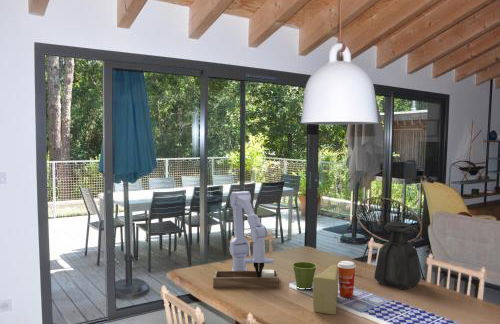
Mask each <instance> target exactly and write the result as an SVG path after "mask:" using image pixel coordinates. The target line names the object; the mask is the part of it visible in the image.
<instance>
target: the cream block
mask: <svg viewBox="0 0 500 324" xmlns="http://www.w3.org/2000/svg"><path fill="white" fill-rule="evenodd" d="M274 271H275V270H274V269H262V278H274Z"/></svg>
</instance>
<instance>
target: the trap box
mask: <svg viewBox="0 0 500 324" xmlns="http://www.w3.org/2000/svg"><path fill="white" fill-rule="evenodd" d="M212 278H213V279H212V281H213V282H212V283H213V284H212V285H213V288H280V274H279V270H274V278H262V272H261V276H260V278H258V277H257V273H256V270H247V271H232V270H215V271H214V275H213V277H212Z"/></svg>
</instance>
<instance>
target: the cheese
mask: <svg viewBox="0 0 500 324" xmlns="http://www.w3.org/2000/svg"><path fill="white" fill-rule="evenodd" d="M337 265H338V264H330V266H328V267H327V268H325V270H323V271H322V272H320V273H318V274H316V275H314V278H313V284H312V303H313V304H312V305H313V306H312V307H313V308H312V309H313V312H316V313H320V314H327V315H333V316H334V315H336V313H337V301H338V295H339V275H338V266H337Z"/></svg>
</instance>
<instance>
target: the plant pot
mask: <svg viewBox="0 0 500 324" xmlns="http://www.w3.org/2000/svg"><path fill="white" fill-rule="evenodd" d="M292 267H293V271H294V277H295V284H296V288H297V287H299V288H305V289H306V288H311V287H312V288H313V278H314V277H315V272H316V270H317V267H318V265H317V264H316V263H314V262H309V261H298V262H297V261H296V262H293V263H292ZM312 288H311V289H312Z"/></svg>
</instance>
